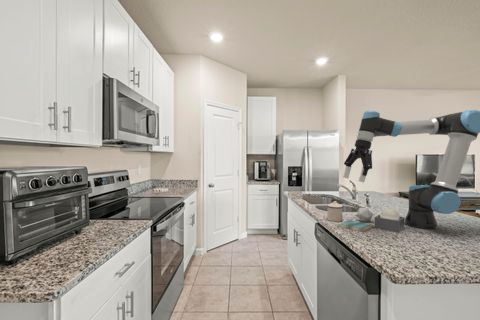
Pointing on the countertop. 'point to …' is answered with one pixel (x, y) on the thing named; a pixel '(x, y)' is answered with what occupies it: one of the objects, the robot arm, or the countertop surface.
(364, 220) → the grey rock
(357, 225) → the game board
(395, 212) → the dome
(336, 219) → the teacup with lid
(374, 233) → the countertop surface
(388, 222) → the dark grey open box
